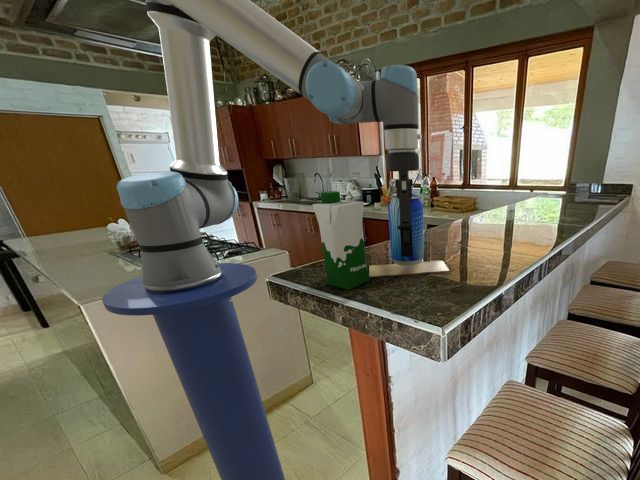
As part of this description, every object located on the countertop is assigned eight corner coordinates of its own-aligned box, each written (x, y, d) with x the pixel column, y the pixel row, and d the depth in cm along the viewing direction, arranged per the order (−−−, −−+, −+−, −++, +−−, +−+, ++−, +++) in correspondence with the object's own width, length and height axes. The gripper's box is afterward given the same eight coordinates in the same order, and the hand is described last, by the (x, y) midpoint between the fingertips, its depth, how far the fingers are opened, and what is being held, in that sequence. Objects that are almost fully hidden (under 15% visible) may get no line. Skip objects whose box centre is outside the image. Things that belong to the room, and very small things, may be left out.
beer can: (405, 255, 91) (402, 194, 84) (430, 260, 87) (429, 195, 80) (384, 263, 85) (380, 197, 78) (411, 268, 80) (408, 199, 74)
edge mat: (369, 277, 81) (369, 276, 81) (369, 266, 89) (369, 265, 89) (449, 271, 84) (449, 270, 84) (442, 261, 92) (442, 260, 92)
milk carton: (347, 274, 84) (336, 190, 75) (375, 280, 79) (367, 191, 71) (321, 285, 77) (306, 194, 69) (350, 292, 73) (338, 195, 64)
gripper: (421, 150, 65) (423, 262, 75) (417, 151, 84) (420, 241, 94) (382, 151, 65) (390, 264, 75) (388, 152, 84) (393, 242, 94)
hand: (407, 251), depth 85 cm, fingers closed on beer can, 8 cm apart
